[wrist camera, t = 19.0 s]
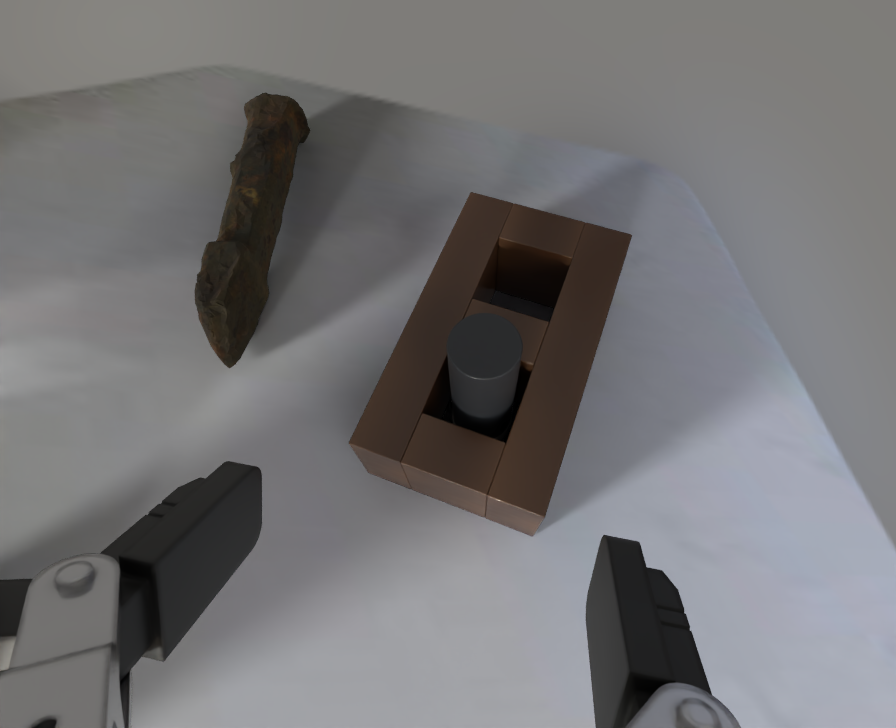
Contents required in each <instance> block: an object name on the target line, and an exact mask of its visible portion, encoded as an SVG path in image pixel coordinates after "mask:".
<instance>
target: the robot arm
mask: <svg viewBox="0 0 896 728" xmlns="http://www.w3.org/2000/svg"><path fill="white" fill-rule="evenodd" d="M261 526H262V474H261V470H260V468H259V467H256V466H251V465H245V464H240V463H235V462H230V461H227V462H224V463H223V464H222V465H221V466H220V467H219V468H217V469H216V470H215V471H214V472H213V473H212V474H211V475H209V476H208V477H207V478H206V479H205V478H198V479H196V480H194V481H191V482H189V483H187V484H185V485H183V486H180V487H178V488H177V489H176V490H175V491H173V492H172V493H171V494H170V495H169V496H167V497H166V498H165V499H164V500H163V501H162V503H161V504H158V505H157V506H156V507H154V508H153V509H152V510H151V511H150V512H149V514H148V515H145V516H144V517H143V518H141V519H140V520H139V521H138V522H137V523H135V524H134V525H133V526H132V527H131V528H129V529H128V530H127V531H126V532H125V533H124V534H122V535H121V536H120V537H119V538H118V539H116V540H115V541H114V542H113V543H112V544H110V545H109V546H108V547H107V548H106V549H105V550H103V551H102V552H101V553H100V554H95V553H91V554H81V555H76V556H72V557H69V558H65V559H63V560H60V561H58V562H56V563H54V564H52V565H50V566H48V567H47V568H45V569H44V570H42V571H41V572H40V573H39V574H37V576H36V577H35V578H34V579H15V580H0V728H132V672H131V668H132V667H133V666H134V665H135V664H136V663H137V661H138V660H139V659H140V658H141V657H146V658H150V659H154V660H159V661H163V662H164V661H165V660H166V658H167V657H168V656H169V654H170V653H171V652H172V651H173V649H174V648H175V647H176V646H177V644H178V643H179V642H180V641H181V639H182V638H183V637H184V635H185V634H186V633H187V632H188V630H189V629H190V628H191V627H192V625H193V624H194V623H195V621H196V620H197V619H198V618H199V616H200V615H201V614H202V613H203V611H204V610H205V609H206V608H207V606H208V605H209V604H210V602H211V601H212V600H213V599H214V597H215V596H216V595H217V594H218V592H219V591H220V590H221V589H222V587H223V586H224V585H225V583H226V582H227V581H228V580H229V578H230V577H231V576H232V575H233V573H234V572H235V571H236V570H237V568H238V567H239V566H240V564H241V563H242V562H243V561H244V559H245V558H246V557H247V556H248V554H249V553H250V552H251V551H252V549H253V548H254V546H255V544H256V542H257V540H258V538H259V535H260V531H261ZM586 627H587V638H588V649H589V660H590V670H591V681H592V692H593V702H594V713H595V724H596V728H741V727H740V725H739V723H738V721H737V720H736V718H735V717H734V715H733V714H732V713H731V712H730V711H729V709H728V708H727V707H726V706H725V705H723V704H722V703H721V702H720V701H719V700H718V699H716V698H715V697H714V696H712V694H711V690H710V687H709V684H708V681H707V678H706V675H705V672H704V669H703V666H702V663H701V660H700V657H699V653H698V650H697V647H696V644H695V641H694V638H693V635H692V632H691V631H690V626H689V623H688V620H687V616H686V614H684V607H683V604H682V601H681V598H680V595H679V592H678V589H677V588H676V587H675V586H674V585H673V583H672V582H671V581H670V580H669V578H668V577H667V576H666V575H665V573H664V572H663V571H662V570H657V569H652V568H647V567H646V564H645V561H644V557H643V553H642V549H641V546H640V543H639V542H638V541H633V540H628V539H622V538H617V537H612V536H607V535H604V536H603V537H602V539H601V542H600V546H599V550H598V554H597V558H596V562H595V566H594V570H593V574H592V578H591V582H590V586H589V590H588V595H587V603H586Z"/></svg>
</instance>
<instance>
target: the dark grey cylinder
mask: <svg viewBox="0 0 896 728" xmlns="http://www.w3.org/2000/svg"><path fill="white" fill-rule="evenodd" d="M522 350H523V343H522V338H521V335H520V333H519V331H518V330H517V328H516V327H515V326H514V325H513V324H512V323H511V322H510V321H508V320H507V319H505V318H503V317H502V316H499V315H496V314H491V313H477V314H473V315H470V316H468V317H465V318H464V319H462V320H461V321H459V322H458V323H457V324H456V325H455V326H454V327H453V329H452V330H451V332H450V334H449V336H448V339H447V357H448V367H449V377H450V388H451V398H452V408H453V410H452V418H453V424H455V425H458V426H461V427H463V428H466V429H469V430H472V431H475V432H477V433H480V434H483V435H486V436H489V437H491V438H494V439H497V440H500V441H503V440H504V439H505V437H506V436H507V434H508V431H509V428H510V426H511V421H512V409H513V404H514V398H515V392H516V386H517V380H518V374H519V369H520V363H521V357H522Z"/></svg>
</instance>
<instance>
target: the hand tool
mask: <svg viewBox="0 0 896 728" xmlns="http://www.w3.org/2000/svg"><path fill="white" fill-rule="evenodd" d="M244 110H245V114H246V118H247V120H248V125H247V129H246V132H245V136H244V141H243V145H242V148H241V150H240V151H239V152H238V154H237V155H235V156H236V158H235V160H234V161H233V162H231V163H230V171H231V174H232V177H233V179H232V185H231V188H230V192H229V196H228V199H227V202H226V207H225V210H224V214H223V217H222V222H221V226H220V231H219V235H218V239H217V241H216V242H209V243H208V244H207V245H206V248H205V251H204V254H203V257H202V266H201V271H200V272H199V273H198V274H197V283H196V286H195V304H196V306H197V311H198V314H199V320H200V322H201V324H202V327H203V329H204V331H205V333H206V335H207V338H208V340H209V343H210V345H211V347H212V348H213V350H214V351H215V353H216V354H217V356H218V357H219V358H220V360H221V361H222V362H223V363H224V364H225V365H226V366H227V367H229V368H231V367H232V366H233V365H235V364H236V362H237V361H238V360H239V359H240V358H241V356H242V354H243V352H244V350H245V348H246V346H247V344H248V343H249V341H250V339H251V337H252V335H253V334H254V331H255V329H256V327H257V325H258V319H259V317H260V315H261V313H262V310H263V308H264V306H265V303H266V301H267V299H268V296H269V289H268V285H267V274H268V270H269V265H270V260H271V257H272V253H273V250H274V246H275V242H276V238H277V235H278V233H279V230H280V227H281V223H282V213H283V209H284V205H285V201H286V197H287V194H288V191H289V187H290V183H291V180H292V178H293V168H294V164H295V163H294V162H295V158H296V153H297V147H298V144H299V143H304V142H305V141H306V139H307V137H308V135H309V133H310V128H309V127H308V123H307V119H306V116H305V114H304V111H303V109H302V108H301V107H300V106H299V104H298V103H297V102H296V101H295V100H294V99H292V98H290V97H288V96H281V95H271V94H267V93H262V94H261V95H259V96H256V97H255V98H253V99H251V100H250V101H249V102H247V103H246V104H245V106H244Z"/></svg>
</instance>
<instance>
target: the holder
mask: <svg viewBox="0 0 896 728" xmlns="http://www.w3.org/2000/svg"><path fill="white" fill-rule="evenodd" d="M631 237H632V235H631V234H627V233H624V232H620V231H616V230H612V229H608V228H605V227H601V226H597V225H593V224H590V223H585V222H582V221H578V220H574V219H571V218H567V217H563V216H559V215H556V214H552V213H548V212H544V211H540V210H537V209H533V208H529V207H525V206H522V205H518V204H513V203H510V202H507V201H503V200H499V199H495V198H492V197H488V196H484V195H480V194H476V193H473V192H471V193H470V195H469V197H468V199H467V201H466V203H465V205H464V207H463V209H462V211H461V213H460V215H459V217H458V219H457V221H456V223H455V226H454V228H453V230H452V232H451V234H450V236H449V238H448V240H447V242H446V244H445V246H444V248H443V250H442V252H441V254H440V256H439V258H438V260H437V263H436V265H435V267H434V269H433V271H432V273H431V275H430V277H429V279H428V281H427V283H426V285H425V287H424V289H423V291H422V293H421V295H420V297H419V299H418V302H417V304H416V306H415V308H414V310H413V312H412V314H411V316H410V318H409V320H408V322H407V324H406V326H405V328H404V330H403V332H402V334H401V336H400V339H399V341H398V343H397V345H396V347H395V349H394V351H393V353H392V355H391V357H390V359H389V361H388V363H387V365H386V367H385V369H384V371H383V373H382V376H381V378H380V380H379V382H378V384H377V386H376V388H375V390H374V392H373V394H372V396H371V398H370V400H369V402H368V404H367V406H366V408H365V410H364V413H363V415H362V417H361V419H360V421H359V423H358V425H357V427H356V429H355V431H354V433H353V435H352V437H351V439H350V441H349V444H350V446H351V447H352V449H353V450H354V452H355V453H356V455H357V456H358V458H359V459H360V461H361V462H362V464H363V465H364V467H365V468H366V470H367V471H368V473H371V474H373V475H376V476H378V477H381V478H383V479H386V480H389V481H391V482H394V483H396V484H399V485H401V486H404V487H407V488H409V489H413V490H415V491H417V492H420V493H422V494H425V495H427V496H430V497H433V498H435V499H438V500H440V501H443V502H445V503H448V504H451V505H453V506H456V507H458V508H461V509H463V510H466V511H469V512H471V513H474V514H476V515H479V516H481V517H485V518H486V519H489V520H492V521H494V522H497V523H499V524H502V525H504V526H507V527H510V528H512V529H515V530H517V531H520V532H522V533H525V534H528V535H530V536H533V535H534V534H535V532H536V530H537V529H538V527H539V526H540V524H541V522H542V521H543V519H544V518H545V515H546V512H547V509H548V505H549V502H550V499H551V496H552V492H553V489H554V486H555V483H556V480H557V476H558V473H559V470H560V467H561V463H562V460H563V457H564V454H565V450H566V447H567V444H568V441H569V438H570V434H571V431H572V428H573V425H574V421H575V418H576V415H577V412H578V408H579V405H580V402H581V399H582V396H583V392H584V389H585V386H586V383H587V379H588V376H589V373H590V370H591V366H592V363H593V360H594V357H595V354H596V350H597V347H598V344H599V341H600V337H601V334H602V331H603V328H604V325H605V321H606V318H607V315H608V312H609V308H610V305H611V302H612V299H613V295H614V292H615V289H616V286H617V283H618V279H619V276H620V273H621V270H622V266H623V263H624V260H625V257H626V253H627V250H628V247H629V244H630V241H631ZM495 290H496V291H500V292H503V293H506V294H510V295H513V296H516V297H520V298H523V299H526V300H530V301H533V302H536V303H540V304H543V305H547V306H550V307H553V308H554V311H553V314H552V317H551V320H550V322H548V321H545V320H541V319H538V318H535V317H531V316H528V315H525V314H522V313H518V312H515V311H512V310H509V309H505V308H502V307H499V306H496V305H492V304H490V302H491V299H492V297H493V295H494V292H495ZM477 313H491V314H496V315H499V316H502V317H503V318H505V319H507V320H508V321H510V322H511V323H512V324H513V325H514V326H515V327H516V328H517V330H518V331H519V333H520V335H521V338H522V343H523V350H522V357H521V363H520V369H519V374H518V380H517V386H516V392H515V398H514V401H517V402H520V406H519V409H518V411H517V414H516V417H515V420H514V423H513V425H512V428H511V431H510V434H509V436H508V439H507V442H506V443H505V442H503V441H500V440H497V439H494V438H491V437H489V436H486V435H483V434H480V433H477V432H475V431H472V430H469V429H466V428H463V427H461V426H458V425H455V424H452V423H449V422H447V421H444V420H441V418H442V416H443V414H444V411H445V409H446V406H447V404H448V402H449V399H450V397H451V388H450V377H449V367H448V357H447V339H448V336H449V334H450V332H451V330H452V329H453V327H454V326H455V325H456V324H457V323H458V322H459V321H461V320H462V319H464V318H465V317H468V316H470V315H473V314H477Z"/></svg>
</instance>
